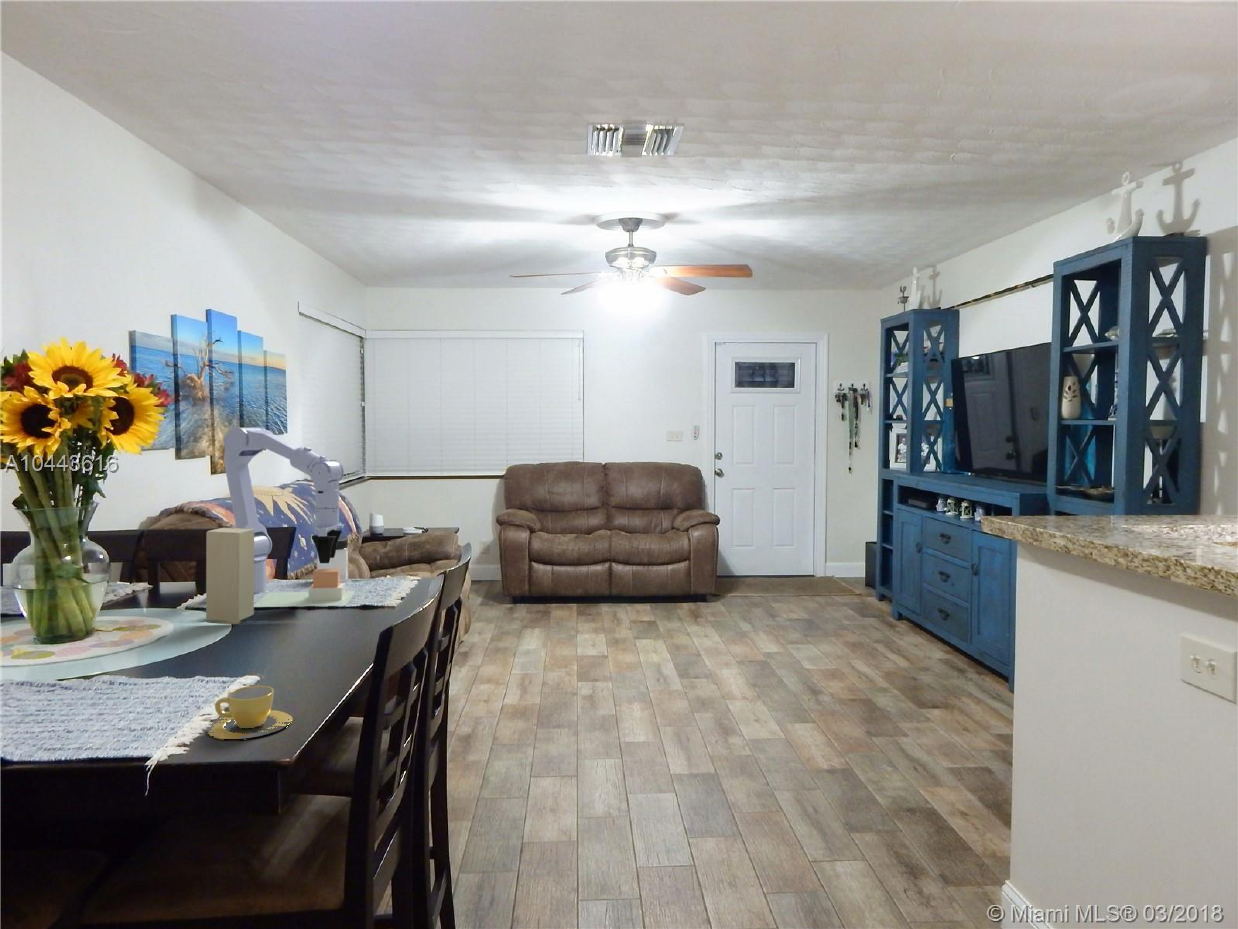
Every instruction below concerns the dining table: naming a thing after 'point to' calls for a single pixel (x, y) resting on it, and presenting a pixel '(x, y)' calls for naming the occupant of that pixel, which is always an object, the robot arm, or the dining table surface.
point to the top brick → (326, 578)
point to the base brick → (327, 593)
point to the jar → (338, 559)
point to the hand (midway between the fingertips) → (327, 560)
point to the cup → (247, 711)
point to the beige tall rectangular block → (229, 575)
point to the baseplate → (298, 600)
